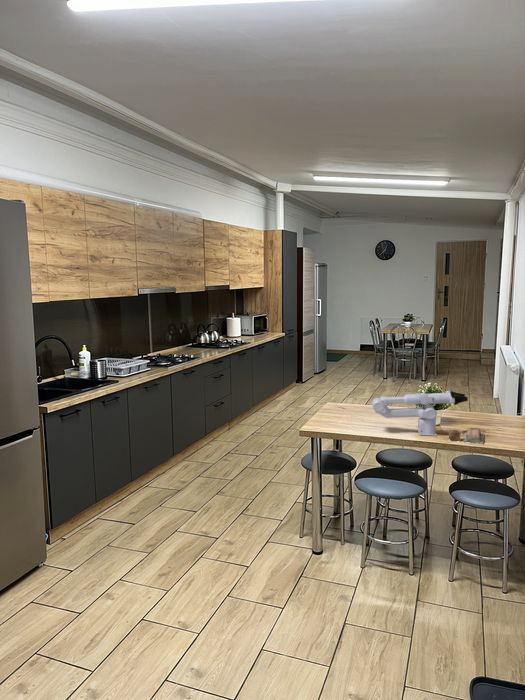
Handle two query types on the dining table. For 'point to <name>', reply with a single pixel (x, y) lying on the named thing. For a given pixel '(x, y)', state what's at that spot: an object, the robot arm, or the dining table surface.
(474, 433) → the packaged product
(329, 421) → the dining table surface
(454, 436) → the walnut cube
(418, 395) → the robot arm
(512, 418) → the dining table surface
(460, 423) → the dining table surface
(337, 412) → the dining table surface
